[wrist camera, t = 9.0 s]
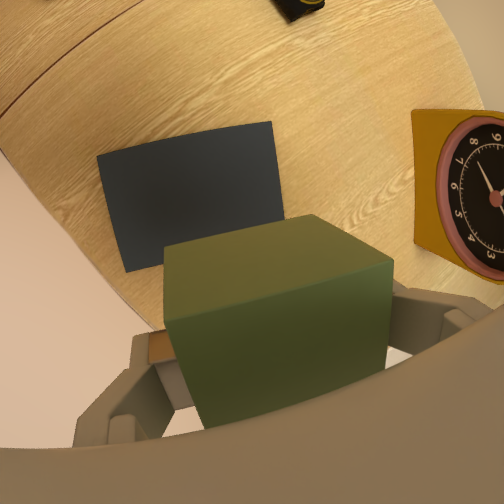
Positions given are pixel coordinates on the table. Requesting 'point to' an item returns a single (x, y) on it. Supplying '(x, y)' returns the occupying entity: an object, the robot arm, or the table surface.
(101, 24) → the table surface
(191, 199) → the mat
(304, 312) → the green block
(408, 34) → the table surface
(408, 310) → the robot arm
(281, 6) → the tape measure
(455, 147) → the alarm clock
